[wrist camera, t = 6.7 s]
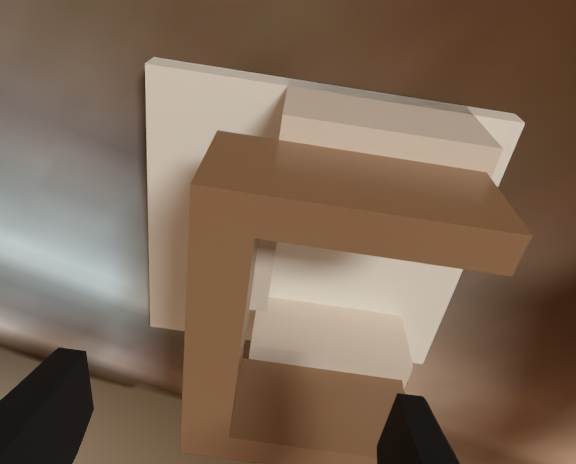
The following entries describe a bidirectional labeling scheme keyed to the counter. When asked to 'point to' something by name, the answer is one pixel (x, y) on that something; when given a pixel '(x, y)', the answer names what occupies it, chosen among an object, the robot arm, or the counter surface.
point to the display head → (297, 258)
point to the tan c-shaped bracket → (322, 234)
